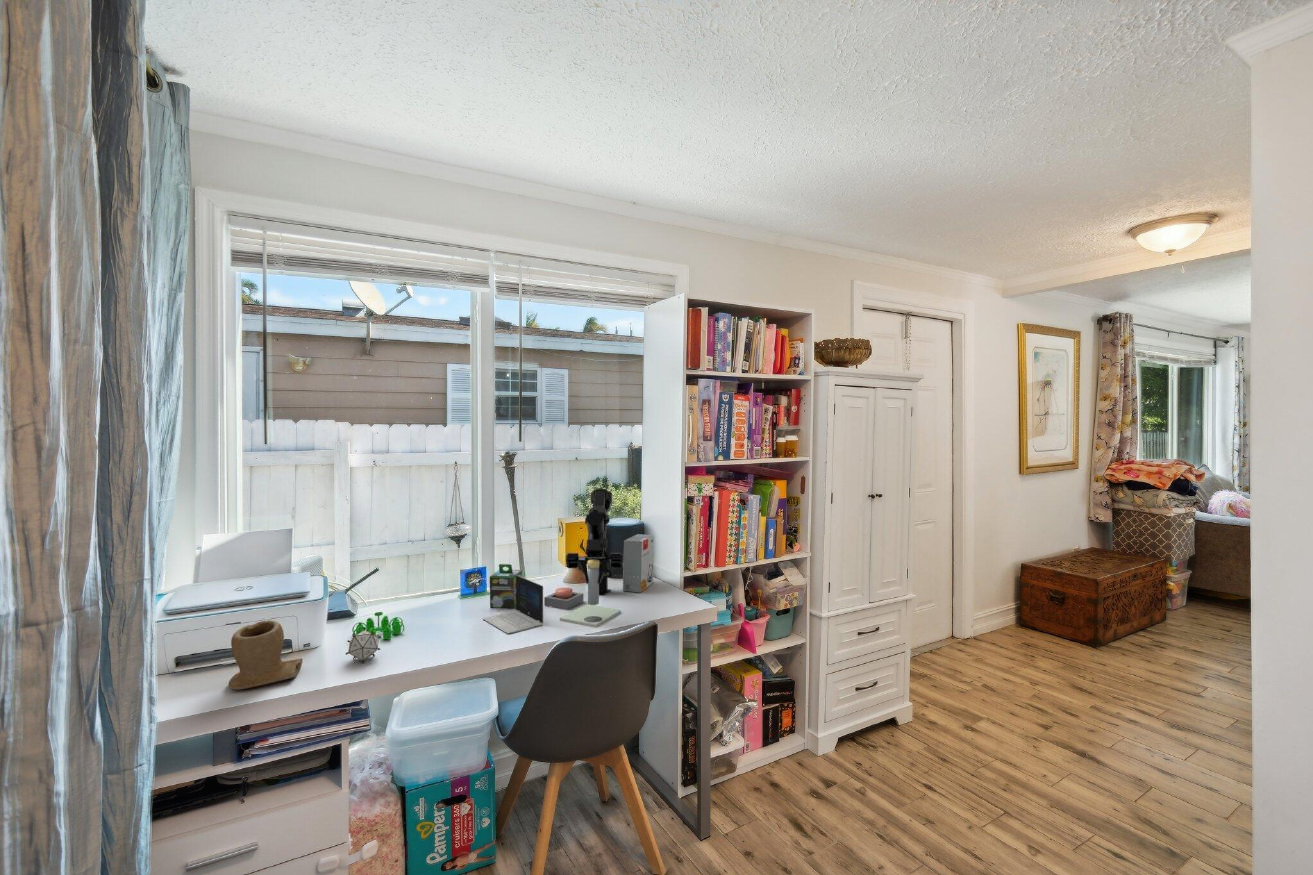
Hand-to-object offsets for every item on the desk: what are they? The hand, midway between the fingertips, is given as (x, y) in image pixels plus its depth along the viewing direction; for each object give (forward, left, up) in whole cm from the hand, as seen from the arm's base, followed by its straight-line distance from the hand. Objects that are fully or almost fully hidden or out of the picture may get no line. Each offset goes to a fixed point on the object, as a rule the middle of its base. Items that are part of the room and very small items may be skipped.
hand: (593, 583), depth 183 cm
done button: (-12, -20, -10) cm, 26 cm away
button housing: (-12, -20, -13) cm, 27 cm away
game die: (+53, -40, -13) cm, 68 cm away
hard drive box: (-43, -6, -13) cm, 46 cm away
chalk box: (-2, -38, -13) cm, 41 cm away
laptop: (+11, -24, -13) cm, 30 cm away
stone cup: (+73, -49, -13) cm, 89 cm away
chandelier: (+39, -53, -13) cm, 67 cm away
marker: (-1, -1, -7) cm, 7 cm away
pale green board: (-5, -4, -13) cm, 15 cm away
